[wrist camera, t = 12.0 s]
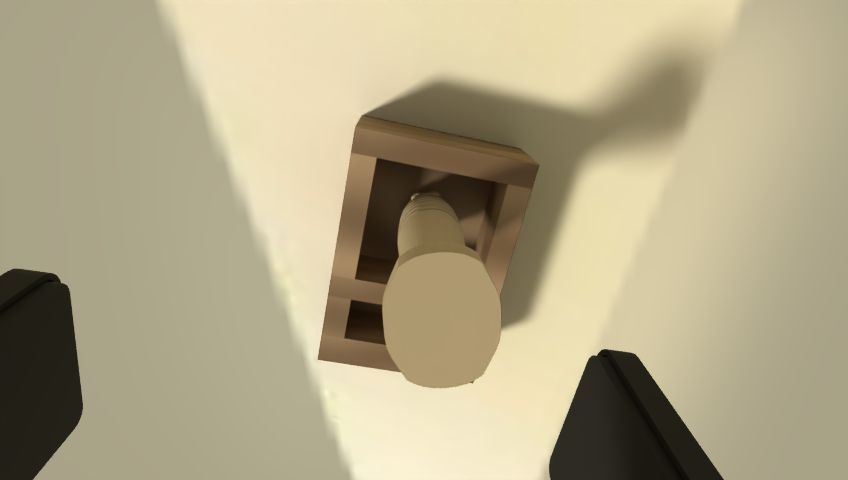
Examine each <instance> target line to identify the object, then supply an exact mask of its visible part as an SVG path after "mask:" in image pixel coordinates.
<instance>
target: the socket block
mask: <svg viewBox="0 0 848 480" xmlns="http://www.w3.org/2000/svg"><path fill="white" fill-rule="evenodd" d="M538 168H539V165H538V164H537V163H536V162H535V161H534V160H533V159H531V158H530V157H529V156H528V155H527V154H526V153H525V152H523V151H522V150H521V149H519V148H514V147H510V146H505V145H500V144H495V143H491V142H486V141H481V140H476V139H472V138H467V137H462V136H457V135H453V134H448V133H443V132H439V131H434V130H429V129H424V128H420V127H415V126H410V125H405V124H401V123H396V122H391V121H387V120H382V119H377V118H372V117H368V116H363V115H362V116H361V118H360V120H359V121H358V123H357V125H356V127H355V132H354V138H353V144H352V150H351V157H350V163H349V169H348V175H347V181H346V187H345V194H344V200H343V206H342V212H341V218H340V225H339V231H338V237H337V243H336V249H335V256H334V262H333V268H332V274H331V280H330V286H329V293H328V299H327V305H326V311H325V317H324V324H323V330H322V336H321V342H320V348H319V355H318V360H324V361H330V362H337V363H343V364H350V365H356V366H363V367H369V368H376V369H383V370H389V371H396V372H401V371H400V370H399V368H398V367H397V365H396V364H395V362H394V361H393V359H392V358H391V356H390V354H389V352H388V350H387V347H386V342H385V337H384V326H383V312H382V306H383V295H384V292H385V289H386V286H387V283H388V281H389V278H390V276H391V273H392V271H393V268H394V266H395V264H396V262H397V260H398V258H399V251H398V229H399V223H400V218H401V215H402V212H403V210H404V208H405V207H406V205H407V204H408V203H409V202H410V201H411V196H412V194H413V193H415V192H417V191H419V192H422V193H426V192H431V191H432V190H435V191H437V192H439V193H440V195H441V198H442V199H444V200H445V201H446V202H447V203H448V204H449V205H450V206H451V207H452V209H453V210H454V212H455V214H456V216H457V218H458V220H459V222H460V225H461V228H462V231H463V235H464V241H465V246H466V247H469V248H471V249H472V250H474V251H476V252H477V253H478V255H479V256H480V258H481V260H482V261H483V263H484V265H485V267H486V268H487V270H488V272H489V274H490V276H491V278H492V280H493V282H494V285H495V287H496V289H497V292H498V295H499V296H500V293H501V290H502V286H503V283H504V280H505V277H506V273H507V270H508V267H509V263H510V260H511V257H512V253H513V250H514V247H515V244H516V240H517V237H518V234H519V230H520V227H521V224H522V220H523V217H524V214H525V211H526V207H527V204H528V201H529V197H530V194H531V191H532V187H533V184H534V181H535V178H536V174H537V171H538ZM473 382H474V381H472V382H469V383H473Z"/></svg>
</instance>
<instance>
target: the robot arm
mask: <svg viewBox="0 0 848 480" xmlns="http://www.w3.org/2000/svg"><path fill="white" fill-rule="evenodd" d="M82 410H83V402H82V393H81V384H80V376H79V367H78V358H77V350H76V341H75V333H74V325H73V315H72V307H71V298H70V292H69V288H68V286H67V285H65V284H63V283H61V282H60V279H59V278H58V276H57V275H55V274H52V273H46V272H39V271H31V270H24V269H12V270H10V271H7V272H6V273H4V274H3V275H1V276H0V480H33V479H34V477H35V476H36V475H37V474H38V473H39V471H40V470H41V469H42V468H43V467H44V465H45V464H46V463H47V461H48V460H49V459H50V458H51V457H52V456H53V454H54V453H55V452H56V451H57V449H58V448H59V447H60V446H61V445H62V443H63V442H64V441H65V440H66V438H67V437H68V436H69V435H70V434H71V432H72V431H73V430H74V429H75V427H76V426H77V424H78V422H79V420H80V418H81V415H82ZM549 474H550V478H551V480H724V479H723V478H722V477H721V475H720V474H719V472H718V471H717V470H716V468H715V467H714V465H713V464H712V462H711V461H710V459H709V458H708V456H707V455H706V454H705V452H704V451H703V449H702V448H701V446H700V445H699V444H698V442H697V441H696V439H695V438H694V436H693V435H692V434H691V432H690V431H689V429H688V428H687V426H686V425H685V424H684V422H683V421H682V419H681V418H680V416H679V415H678V414H677V412H676V411H675V409H674V408H673V406H672V405H671V404H670V402H669V401H668V399H667V398H666V396H665V395H664V394H663V392H662V391H661V389H660V388H659V386H658V385H657V384H656V382H655V381H654V379H653V378H652V376H651V375H650V374H649V372H648V371H647V369H646V368H645V366H644V365H643V363H642V362H641V361H640V359H639V358H638V357H637V356H636V355H635V354H633V353H629V352H622V351H614V350H607V349H604V350H601V351H600V352H599V353H598V355H597V356H591V357H590V358H589V360H588V362H587V364H586V367H585V370H584V372H583V375H582V377H581V380H580V383H579V385H578V388H577V390H576V393H575V395H574V398H573V401H572V403H571V406H570V408H569V411H568V414H567V416H566V419H565V421H564V424H563V427H562V429H561V432H560V434H559V437H558V440H557V442H556V445H555V447H554V450H553V453H552V455H551V458H550V463H549Z"/></svg>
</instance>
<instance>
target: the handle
mask: <svg viewBox="0 0 848 480" xmlns="http://www.w3.org/2000/svg"><path fill="white" fill-rule="evenodd" d="M398 251H399V258H398V260H397V262H396V264H395V266H394V268H393V271H392V273H391V276H390V278H389V281H388V283H387V286H386V289H385V292H384V295H383V306H382V312H383V326H384V337H385V342H386V347H387V350H388V352H389V354H390V356H391V358H392V359H393V361H394V362H395V364H396V365H397V367H398V368H399V370H400V371H401V372H402V374H403V375H404V377H405V378H406V379H407V381H410V382H412V383H414V384H417V385H420V386H423V387H430V388H449V387H456V386H460V385H464V384H467V383H469V382H472V381H474V380H476V379H477V378H479V377H480V376H482V375H483V373H484V372H485V370H486V368H487V366H488V365H489V363H490V361H491V359H492V357H493V355H494V353H495V351H496V349H497V346H498V344H499V341H500V334H501V305H500V298H499V295H498V292H497V289H496V287H495V285H494V282H493V280H492V278H491V276H490V274H489V272H488V270H487V268H486V267H485V265H484V263H483V261H482V260H481V258H480V256H479V255H478V253H477V252H476V251H474V250H472V249H471V248H469V247H466V246H465V241H464V235H463V231H462V228H461V225H460V222H459V220H458V218H457V216H456V214H455V212H454V210H453V209H452V207H451V206H450V205H449V204H448V203H447V202H446V201H445V200H444V199H442V198H441V195H440V193H439V192H437V191H435V190H432V191H431V192H426V193H422V192H419V191H417V192H415V193H413V194H412V196H411V201H410V202H409V203H408V204H407V205H406V207H405V208H404V210H403V212H402V215H401V218H400V223H399V229H398Z"/></svg>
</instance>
